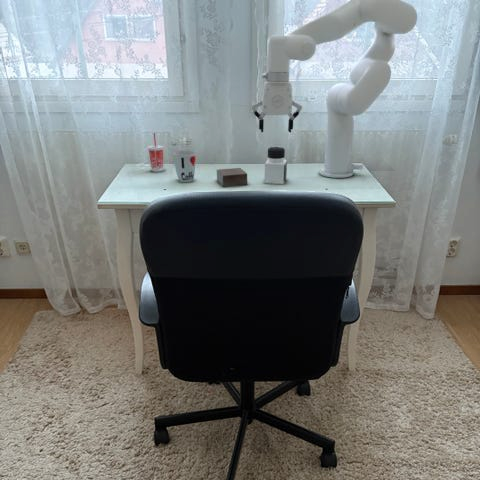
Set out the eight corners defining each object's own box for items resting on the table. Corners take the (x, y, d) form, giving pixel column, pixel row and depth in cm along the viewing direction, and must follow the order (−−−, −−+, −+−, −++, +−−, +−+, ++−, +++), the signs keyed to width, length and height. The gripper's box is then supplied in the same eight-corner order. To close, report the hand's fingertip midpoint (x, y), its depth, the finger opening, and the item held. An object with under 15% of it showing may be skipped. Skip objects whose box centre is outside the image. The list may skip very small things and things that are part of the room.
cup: (179, 184, 186) (178, 156, 181) (171, 179, 192) (169, 151, 187) (200, 181, 189) (199, 153, 184) (191, 176, 196) (190, 149, 191)
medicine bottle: (283, 184, 185) (285, 149, 179) (264, 183, 186) (264, 149, 180) (286, 179, 191) (287, 145, 185) (267, 178, 192) (267, 145, 186)
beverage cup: (166, 168, 206) (163, 131, 199) (164, 172, 201) (161, 134, 194) (150, 168, 206) (147, 131, 199) (148, 172, 201) (145, 134, 194)
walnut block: (240, 178, 192) (240, 167, 190) (247, 184, 185) (247, 173, 183) (216, 180, 190) (216, 169, 188) (223, 187, 183) (222, 175, 181)
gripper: (252, 78, 168) (251, 133, 176) (305, 78, 168) (301, 133, 177) (251, 76, 174) (250, 129, 183) (302, 76, 175) (299, 129, 183)
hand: (275, 131), depth 180 cm, fingers open, 9 cm apart
